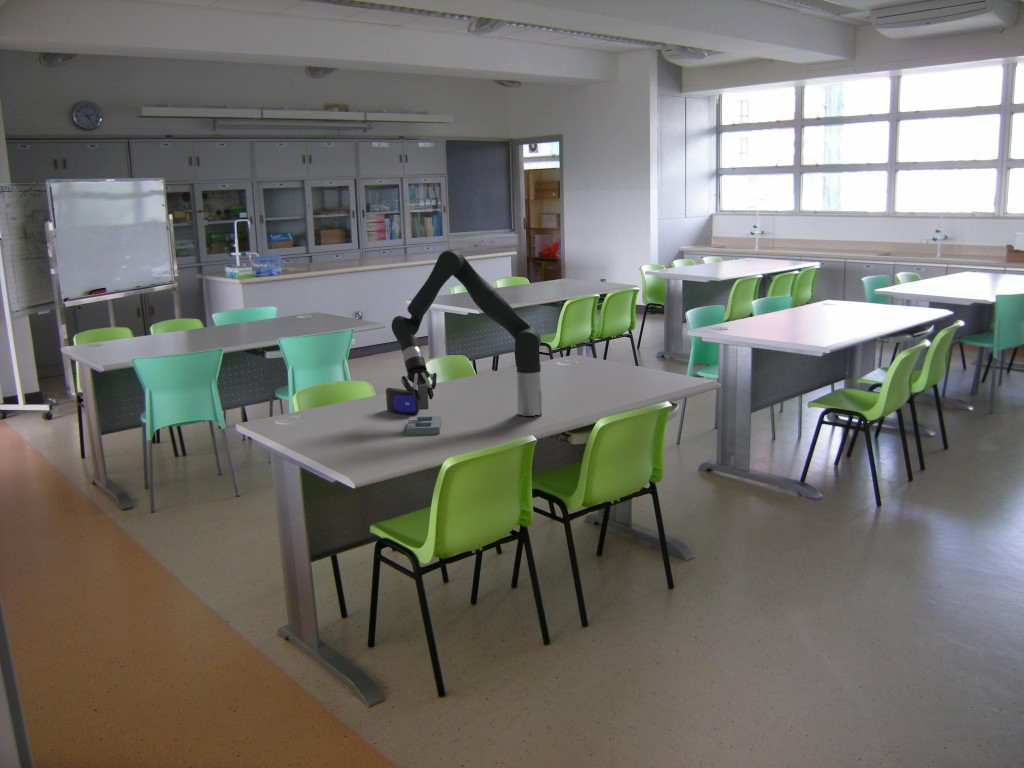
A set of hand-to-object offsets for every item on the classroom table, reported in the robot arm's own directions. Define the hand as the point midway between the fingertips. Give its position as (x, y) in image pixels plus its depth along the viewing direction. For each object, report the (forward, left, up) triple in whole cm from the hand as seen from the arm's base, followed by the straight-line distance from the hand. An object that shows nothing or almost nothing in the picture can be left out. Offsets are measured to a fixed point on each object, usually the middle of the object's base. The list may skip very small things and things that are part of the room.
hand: (424, 398), depth 311 cm
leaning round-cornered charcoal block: (+11, -23, -11) cm, 27 cm away
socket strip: (+1, +2, -11) cm, 11 cm away
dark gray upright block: (+1, -2, -4) cm, 5 cm away
